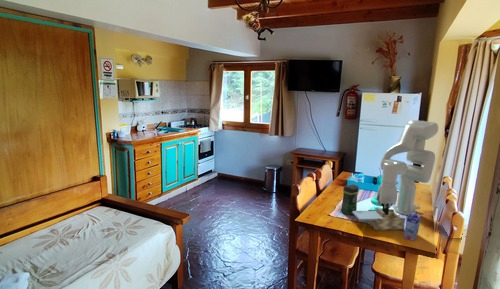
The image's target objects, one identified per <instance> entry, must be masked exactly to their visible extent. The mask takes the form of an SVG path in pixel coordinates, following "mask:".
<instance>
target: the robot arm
mask: <svg viewBox="0 0 500 289" xmlns="http://www.w3.org/2000/svg"><path fill="white" fill-rule="evenodd" d="M438 131H439V125H438V123H437V122H434V121H426V120H409V121H408V122H407V125H405V127H404V129H403V130H402V133H401V135H400V137H399V140H398V142H397V143H396V144H395V145H393V146H391V147H389V149H387V150H386V151H385V153H384V154H383V156H382V158H381V161H380V169H381V170H382V176H381V184H380V185H379V186H378V189H377V193H376V197H377V201H378V202H377V204H378V205H381V206H380V207H381V208H383V209H382V211H383V212H384V213H385V215H388V212H389V209H391V207H392V206H394V205H395V206H394V207H393V209H394V212H395V213H398V214H401V215H407V216H409V215H410V213H411V212H412V213H416V210H420V209H421V206H420V205H418V206H417V205H416V204H415V199H416V192H417V185H416V183H415V182H418V183H423V184H427V183H429V182H430V181H431V177H432V174H433V170H434V167H435V166H434V165H435V162H436V154H435V153H434V151H432V150H427V149H425V144H426V140H430V139H432V138H433V137H434V136H435V135H437V133H438ZM403 153H406V158H405V159H406V161H407V162H408V163H412V164H407V163H406V162H404V161H401V160H396V159H391V158H392V157H393V156H395V155H398V154H403ZM415 164H417V165H415ZM418 165H421V166H418ZM398 176H399V182H398V181H397V178H398ZM398 184H399V188H398V187H397V185H398ZM396 203H397V205H396Z"/></svg>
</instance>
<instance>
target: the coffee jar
mask: <svg viewBox="0 0 500 289" xmlns="http://www.w3.org/2000/svg"><path fill="white" fill-rule="evenodd" d="M359 189H360V188H359V186H358V185H357V184H354V183H352V184H347V185H344V186H343V190H342V193H343V196H342V203H341V208H340V211H341V213H342V214H345V215H349V216H351V215H354V214H353V213H352V212H353V211H358V210H357V209H358V208H357V207H358V206H357V205H358V195H359Z"/></svg>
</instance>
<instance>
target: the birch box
mask: <svg viewBox="0 0 500 289" xmlns="http://www.w3.org/2000/svg"><path fill="white" fill-rule="evenodd" d="M367 211H376V210H370V209H368V210H367ZM385 217H386V218H378V220H366V222H367V223H368V224H369V225H370V226H371V227H372V228H373V229H374V230H375V231H376V232H381V231H382V232H385V231H386V232H387V231H388V232H391V231H405V225H406V217H401V216H400V215H398V214H397V212H395V210H394V208H392V209H391V208H389V212H388V215H385Z"/></svg>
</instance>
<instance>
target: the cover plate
mask: <svg viewBox="0 0 500 289" xmlns="http://www.w3.org/2000/svg"><path fill="white" fill-rule="evenodd" d="M380 208H381V207H380ZM380 208H377V210H376V211H368V210H356V211H353V212H352V213H353V214H352V215H354V216H355V217H356V218H357V219H358V221H367V220H378V218H386V217H385V213H384V212H383V211H382V210H381V209H380Z"/></svg>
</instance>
